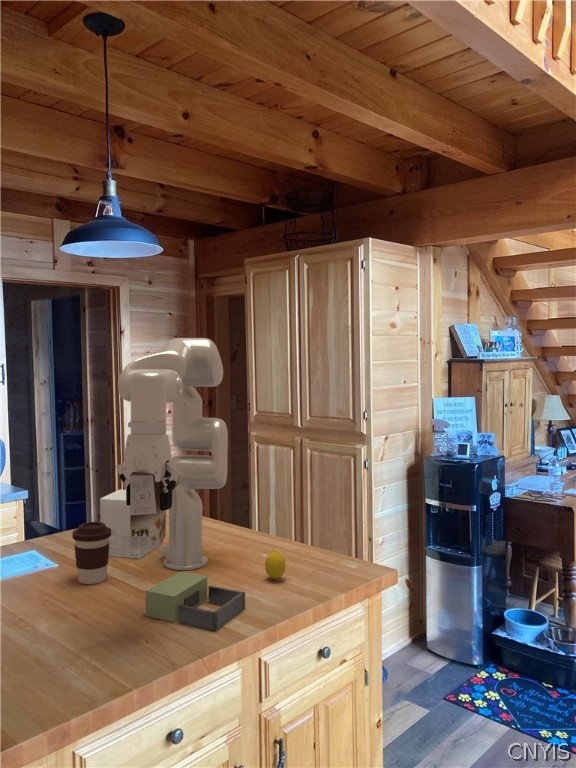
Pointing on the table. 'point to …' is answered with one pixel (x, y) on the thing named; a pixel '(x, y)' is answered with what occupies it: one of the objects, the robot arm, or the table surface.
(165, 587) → the sage green box
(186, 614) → the frame
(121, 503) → the supplement box
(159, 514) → the coffee box
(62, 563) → the table surface
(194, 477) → the robot arm
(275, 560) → the lemon
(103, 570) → the coffee cup
